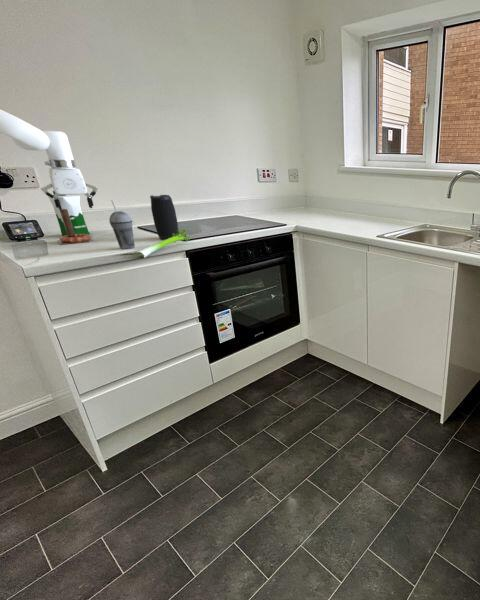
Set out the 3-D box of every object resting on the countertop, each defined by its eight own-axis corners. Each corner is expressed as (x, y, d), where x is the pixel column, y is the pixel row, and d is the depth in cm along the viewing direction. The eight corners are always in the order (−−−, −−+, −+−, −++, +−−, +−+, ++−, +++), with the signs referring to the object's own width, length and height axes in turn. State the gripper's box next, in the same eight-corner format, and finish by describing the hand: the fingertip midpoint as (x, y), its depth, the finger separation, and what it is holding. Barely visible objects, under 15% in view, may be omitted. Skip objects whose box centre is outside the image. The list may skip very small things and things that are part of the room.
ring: (62, 243, 142) (60, 239, 142) (59, 239, 149) (57, 235, 148) (93, 240, 149) (92, 236, 148) (89, 237, 155) (88, 232, 155)
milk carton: (77, 233, 169) (64, 190, 161) (93, 234, 167) (81, 190, 160) (58, 236, 161) (43, 191, 153) (75, 237, 159) (61, 192, 152)
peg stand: (61, 247, 143) (49, 211, 138) (58, 243, 149) (47, 208, 143) (89, 244, 149) (79, 209, 144) (86, 240, 155) (76, 207, 149)
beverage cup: (142, 250, 143) (130, 199, 136) (122, 253, 137) (108, 201, 130) (133, 247, 147) (121, 198, 139) (113, 250, 141) (99, 199, 133)
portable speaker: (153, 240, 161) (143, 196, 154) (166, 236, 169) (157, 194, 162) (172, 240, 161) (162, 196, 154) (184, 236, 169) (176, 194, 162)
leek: (132, 261, 133) (179, 239, 160) (150, 264, 134) (194, 242, 161) (129, 246, 131) (177, 226, 158) (148, 249, 131) (193, 229, 158)
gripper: (33, 164, 132) (48, 211, 138) (92, 165, 144) (103, 208, 150) (32, 164, 136) (46, 209, 143) (89, 165, 148) (100, 206, 155)
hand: (76, 208), depth 146 cm, fingers open, 9 cm apart
